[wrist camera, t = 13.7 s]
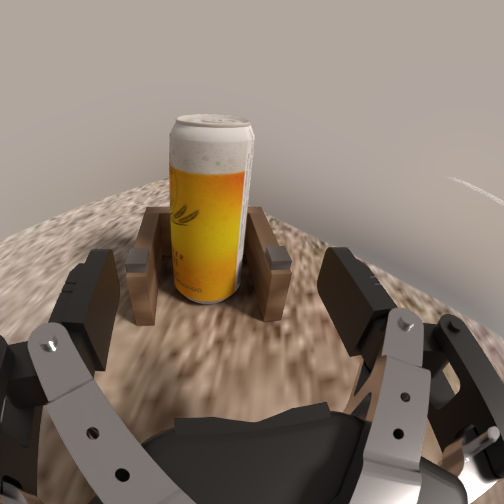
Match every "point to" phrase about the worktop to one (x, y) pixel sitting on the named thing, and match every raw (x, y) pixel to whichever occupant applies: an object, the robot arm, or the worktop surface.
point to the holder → (159, 243)
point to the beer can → (209, 203)
